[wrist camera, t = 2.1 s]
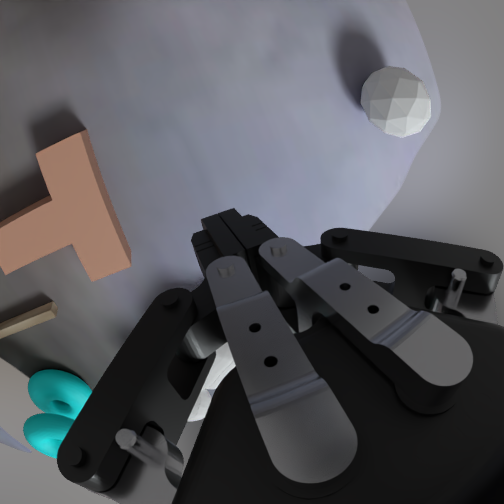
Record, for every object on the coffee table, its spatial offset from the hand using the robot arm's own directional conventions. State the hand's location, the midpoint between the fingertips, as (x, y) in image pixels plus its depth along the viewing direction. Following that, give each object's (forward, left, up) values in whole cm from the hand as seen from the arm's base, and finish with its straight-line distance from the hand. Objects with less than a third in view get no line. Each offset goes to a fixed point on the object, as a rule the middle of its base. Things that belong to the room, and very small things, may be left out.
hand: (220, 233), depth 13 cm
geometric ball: (-3, +23, -14) cm, 27 cm away
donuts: (+21, -25, -14) cm, 36 cm away
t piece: (0, -12, -14) cm, 19 cm away
